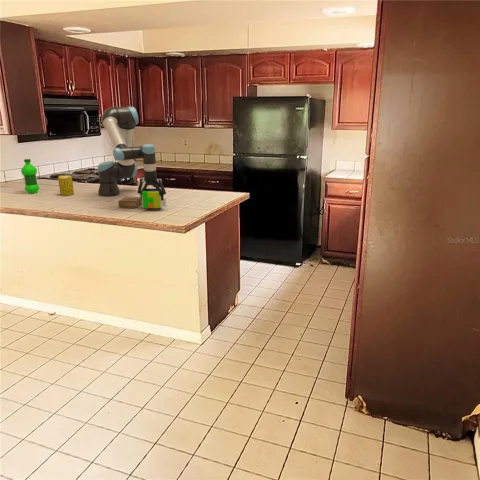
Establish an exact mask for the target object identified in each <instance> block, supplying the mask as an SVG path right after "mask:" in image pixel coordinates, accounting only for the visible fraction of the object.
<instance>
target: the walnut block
mask: <svg viewBox="0 0 480 480" xmlns="http://www.w3.org/2000/svg"><path fill="white" fill-rule="evenodd" d="M117 203H118V208H119V209H138V208H140V207H141V206H143V205H142V199H141V197H140V196H124V197H122V198H121V199H119V200H118V202H117ZM139 206H140V207H139Z"/></svg>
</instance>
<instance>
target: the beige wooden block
mask: <svg viewBox="0 0 480 480" xmlns="http://www.w3.org/2000/svg"><path fill="white" fill-rule="evenodd" d="M166 205H167V196H164V200H163V205H162V206H161V207H163V206H164V207H165V206H166Z"/></svg>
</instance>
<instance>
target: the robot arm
mask: <svg viewBox="0 0 480 480" xmlns="http://www.w3.org/2000/svg"><path fill="white" fill-rule="evenodd" d="M139 123H140V122H139V115H138V112H137V108H136V107H134V106H110V107H109V108H107V109H105V110H104V112H103V113H102V115H101V125H102V126H103V128H104V129H106V132H107V135H108V137H109V138H110V141H111V144H112V146H113V149H112V154H113V158H114V160H115V161H117V162H115V161H113V160H112V161H111V160H109V161H103V162H101V163H99V164H98V165H97V172H98V178H99V179H98V180H99V188H98V196H100V197H114V196H118V195H120V194H121V191H120V188H119V186H118V183H117V180H122V179H132V178H135V177H136V175H137V173H138V167H137V166H138V165H137V162H136V161H135V160H141V159H142V162H143V163H142V165H143V170H144V171H143V176H144V177H145V178H143V177H139V178H140V184H139V187H138V186H137V192H136V193H137V194H138V195H139V194H140V195H139V197H140V196H141V199H142V205H141V206H143V198H142V192H143V191H144V190H145V189H146V188H147V186H148V185H151V186H153V188H154V189H157V191H159V194H160V196H159V199H160V207H163V206H162V205H163V200H164V197H165V195H166V194H167V191H166V189H165V187H164V184H163V180H162V178H157V177H158V176H157V174H158V173H157V165H156V163H157V162H156V148H155V145H154V144H152V143H150V144H149V143H147V144H142V145H139V146H133V145H134V144H133V142H134V141H133V140H134V139H133V138H134V136H133V135H134V130H135V128H136V125H138V124H139ZM144 181H145V182H146V183H145V185H144V187H143V189H142V185H143V182H144ZM141 189H142V191H141Z"/></svg>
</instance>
